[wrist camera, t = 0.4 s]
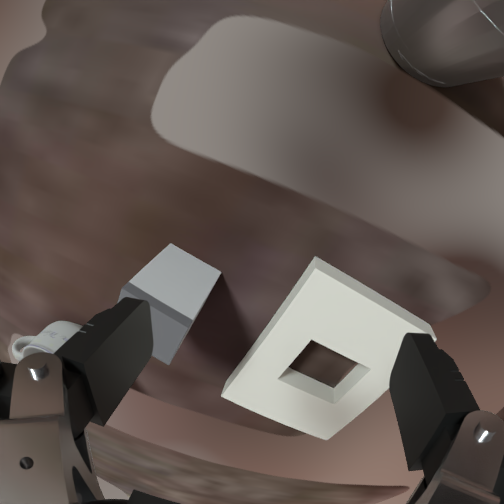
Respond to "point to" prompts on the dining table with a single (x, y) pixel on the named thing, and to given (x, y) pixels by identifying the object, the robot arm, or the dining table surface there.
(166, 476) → the dining table surface
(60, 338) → the teacup
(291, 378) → the socket plate
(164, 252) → the plug
